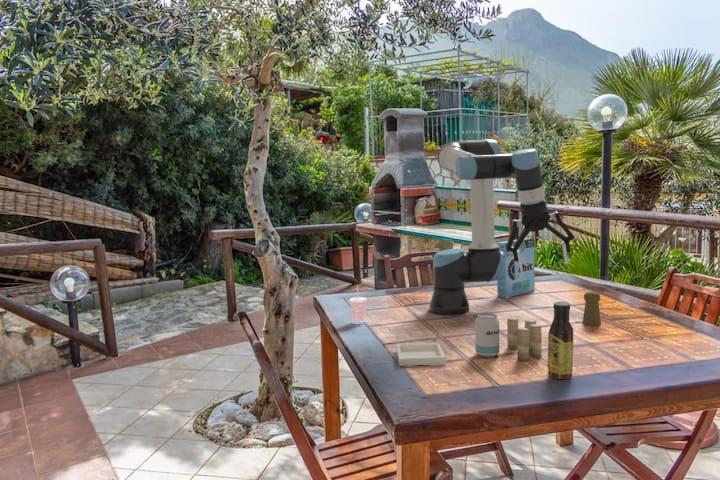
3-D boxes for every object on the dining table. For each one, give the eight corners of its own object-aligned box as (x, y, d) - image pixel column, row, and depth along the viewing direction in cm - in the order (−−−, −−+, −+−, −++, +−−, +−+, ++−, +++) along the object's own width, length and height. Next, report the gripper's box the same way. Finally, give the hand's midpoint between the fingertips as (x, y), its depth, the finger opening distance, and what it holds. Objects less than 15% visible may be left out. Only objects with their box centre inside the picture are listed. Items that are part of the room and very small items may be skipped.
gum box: (506, 298, 239) (505, 243, 236) (496, 296, 243) (495, 242, 240) (535, 290, 251) (535, 238, 248) (525, 289, 255) (525, 237, 252)
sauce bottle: (543, 372, 156) (544, 300, 153) (566, 371, 156) (566, 299, 154) (553, 381, 149) (554, 306, 147) (577, 380, 150) (578, 305, 147)
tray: (396, 351, 178) (396, 344, 178) (439, 350, 178) (439, 342, 178) (399, 366, 165) (399, 358, 164) (445, 364, 165) (445, 357, 164)
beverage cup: (347, 324, 210) (346, 286, 208) (355, 320, 216) (354, 283, 214) (362, 325, 207) (361, 287, 206) (370, 321, 213) (368, 284, 211)
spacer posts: (506, 346, 179) (506, 317, 178) (531, 345, 179) (531, 317, 178) (519, 362, 165) (518, 331, 164) (546, 361, 165) (546, 330, 163)
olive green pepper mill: (602, 326, 196) (603, 294, 194) (583, 325, 197) (584, 294, 196) (599, 321, 202) (599, 290, 200) (580, 320, 203) (581, 290, 201)
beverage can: (485, 360, 167) (485, 319, 166) (470, 353, 173) (470, 314, 172) (504, 356, 170) (504, 316, 169) (488, 349, 176) (488, 311, 175)
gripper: (491, 212, 174) (504, 277, 179) (578, 195, 168) (588, 262, 174) (489, 206, 181) (502, 269, 186) (573, 189, 175) (583, 254, 181)
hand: (543, 266), depth 180 cm, fingers open, 13 cm apart
